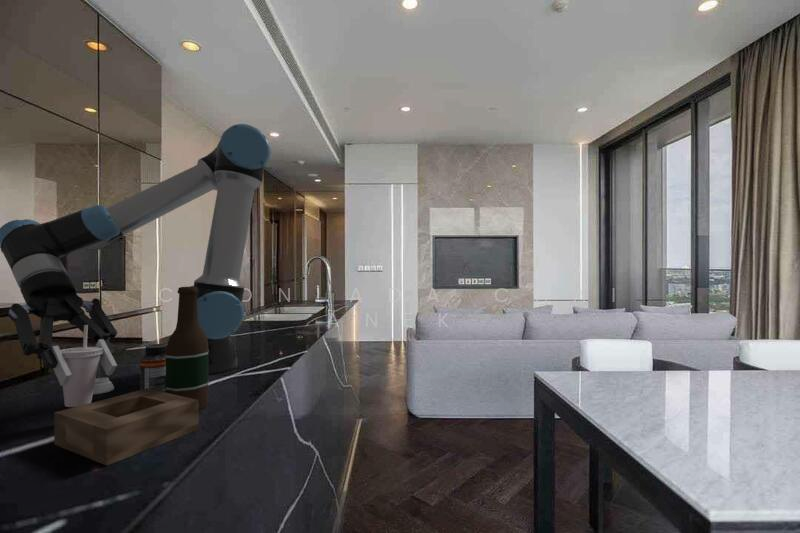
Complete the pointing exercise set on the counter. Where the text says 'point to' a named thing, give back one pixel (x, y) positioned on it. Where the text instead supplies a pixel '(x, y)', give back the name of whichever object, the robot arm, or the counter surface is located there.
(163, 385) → the supplement bottle
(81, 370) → the smoothie
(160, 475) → the counter surface
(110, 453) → the socket board
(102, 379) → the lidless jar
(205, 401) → the beer bottle
